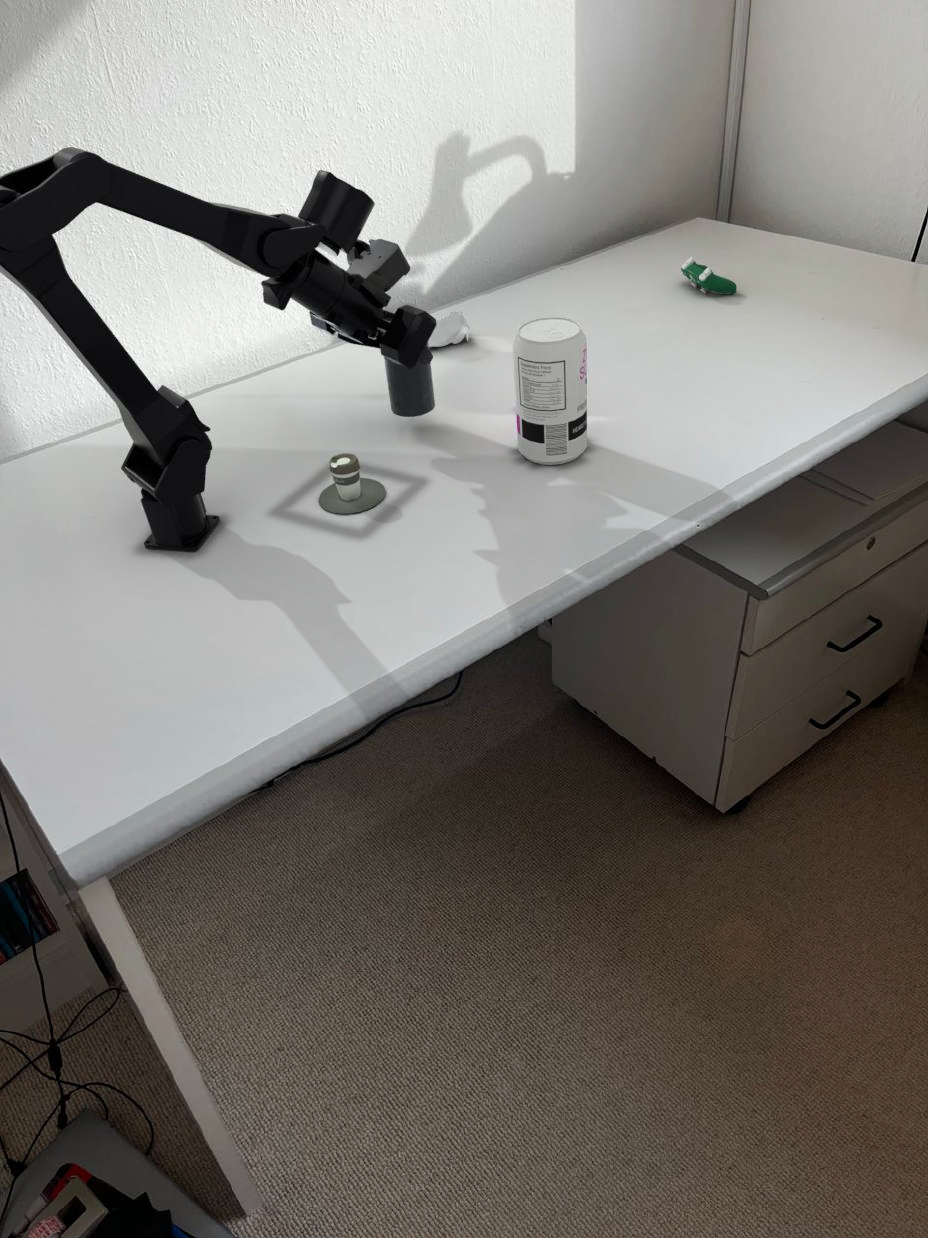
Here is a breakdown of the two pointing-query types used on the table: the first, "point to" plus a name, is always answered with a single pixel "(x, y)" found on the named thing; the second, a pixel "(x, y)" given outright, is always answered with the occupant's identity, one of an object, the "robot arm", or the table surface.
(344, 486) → the coffee cup
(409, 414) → the flask
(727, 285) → the green toy car
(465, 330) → the fabric
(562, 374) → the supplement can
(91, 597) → the table surface
